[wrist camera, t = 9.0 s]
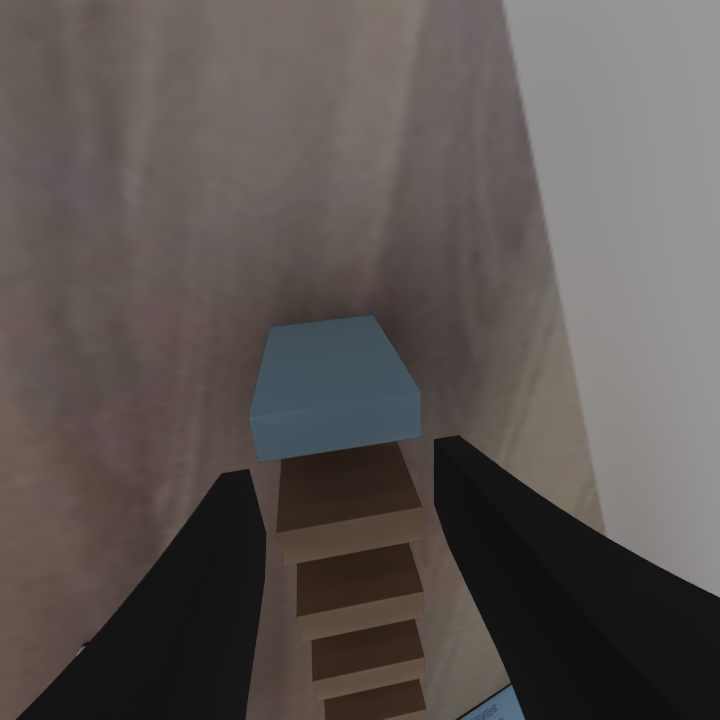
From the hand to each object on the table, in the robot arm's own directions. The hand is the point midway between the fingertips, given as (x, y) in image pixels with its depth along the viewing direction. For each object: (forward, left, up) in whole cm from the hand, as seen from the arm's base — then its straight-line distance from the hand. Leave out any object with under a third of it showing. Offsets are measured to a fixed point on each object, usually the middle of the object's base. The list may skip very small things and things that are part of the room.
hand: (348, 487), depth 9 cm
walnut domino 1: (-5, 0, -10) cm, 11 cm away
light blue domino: (0, 0, -10) cm, 10 cm away
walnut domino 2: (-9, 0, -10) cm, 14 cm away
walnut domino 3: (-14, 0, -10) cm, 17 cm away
